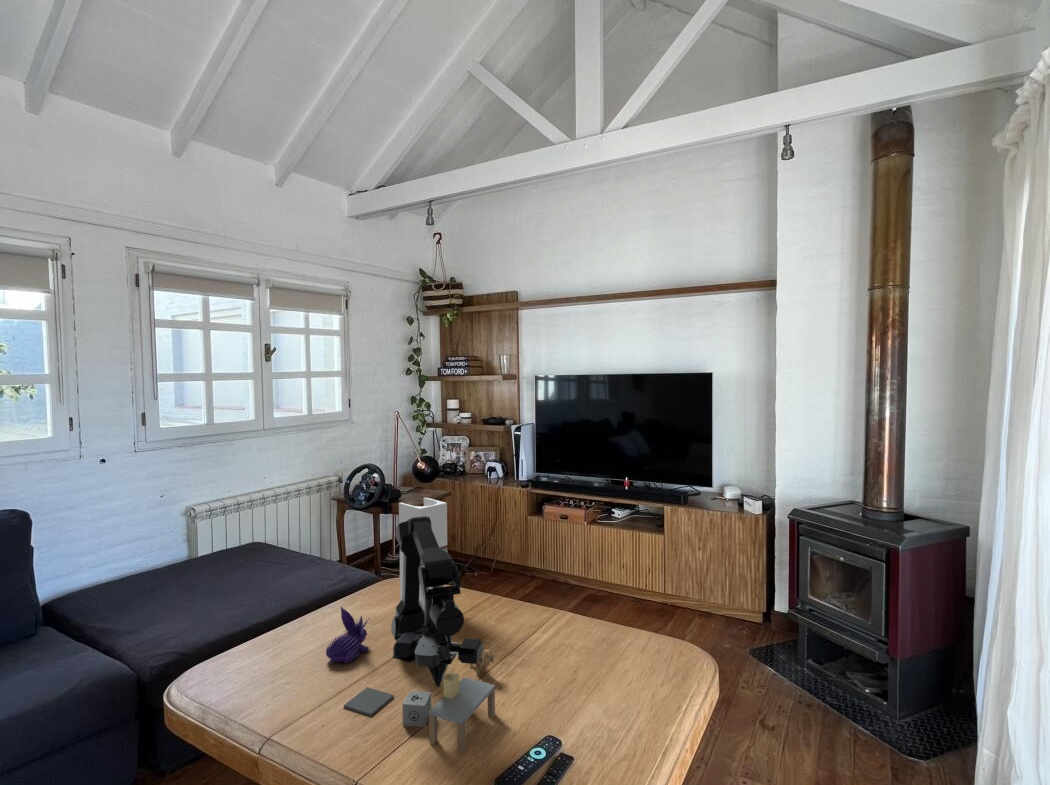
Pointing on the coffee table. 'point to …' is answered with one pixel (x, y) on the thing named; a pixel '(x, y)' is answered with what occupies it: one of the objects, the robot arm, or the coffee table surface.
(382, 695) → the mat
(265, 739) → the coffee table surface
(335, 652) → the creature
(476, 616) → the coffee table surface
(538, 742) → the coffee table surface
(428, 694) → the dice cube
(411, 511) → the white square tower
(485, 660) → the lion figurine
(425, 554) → the robot arm
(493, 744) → the coffee table surface
